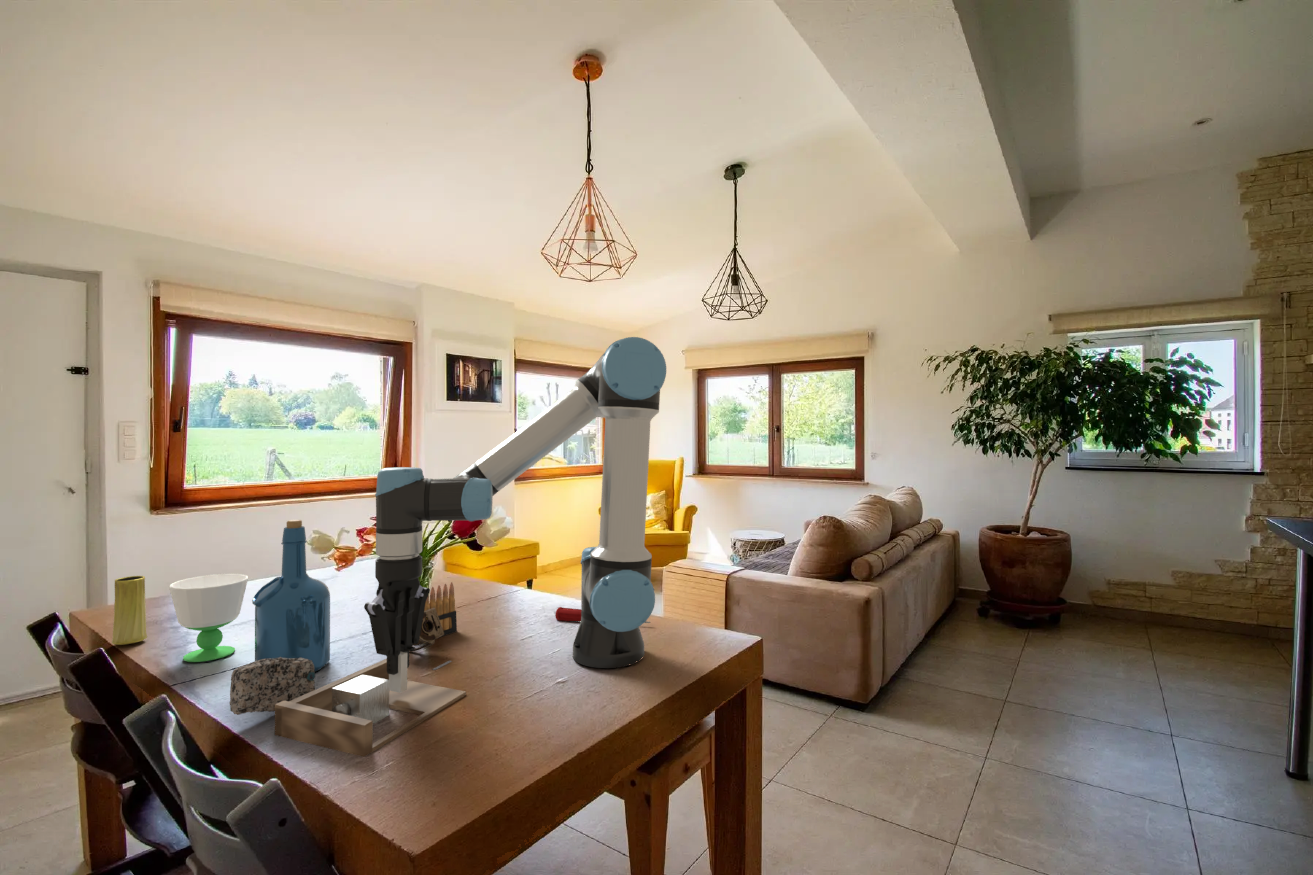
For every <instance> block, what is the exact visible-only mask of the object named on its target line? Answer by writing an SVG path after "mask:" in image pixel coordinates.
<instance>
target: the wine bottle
mask: <svg viewBox="0 0 1313 875" xmlns="http://www.w3.org/2000/svg"><path fill="white" fill-rule="evenodd" d="M307 542H308V541H307V535H306V529H305V526H303V520H302V519H289V520H286V526H284V527H283V533H282V540H281V545H282V554H281V555H282V558H281V575H280V576H276V577H275V578H273V579H272V580H270V581H269V582H267V583H266V584H264V585H263V586H262V587H260V589H258V590H257V592H256V593H255V594H254V596H253V597H252V600H251V602H252V605H254V661H257V660H262V659H267V658H271V659H272V658H278V657H282V658H288V659H289V658H290V659H291V658H300V657H301V658H304V659H308V660H312V662H313V664H314V672H317V671H320V670H321V669H322V668H324V667H326V666H327V665H329V662H330V660H331V591H330V589H329V587H328V586H327V584H326V583H325V582H323V581H321V580H320V579H316V578H313V577H311V576H310V575H309V574H308V573H307V554H306V553H307V551H306V543H307Z"/></svg>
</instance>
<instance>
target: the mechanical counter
mask: <svg viewBox="0 0 1313 875" xmlns="http://www.w3.org/2000/svg"><path fill="white" fill-rule="evenodd" d="M443 635H444V631H443V628H442V626H441V623H440V620H439V617H438V614H437V611H436V609H435V608H432V609H429V610H426V611H424V615H423V620H422V626H421V632H420V638H419V642H418V643H417V644H414V645H413V646H412V647H415V649H414V651H413V652H416V651H419V650H422V649H423V650H424V649H425V648H428V647H430V646H432V645H434V644H435V641H436V640H437V639H439V638H441V636H442V637H444V636H443ZM412 636H413V635H412ZM426 643H427V644H426ZM418 646H419V647H418Z"/></svg>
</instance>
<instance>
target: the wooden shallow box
mask: <svg viewBox="0 0 1313 875" xmlns="http://www.w3.org/2000/svg"><path fill="white" fill-rule="evenodd" d="M360 675H367V676H372V677H377V678H382V679H387V680H389V674H387V657H386V658H384V659H382V660H380V661H378V662H376V663H373V664H371V665H367V667H364V668H362V669H359V670H357V671H355V672H352V673H350V674H348V675H345V676H343V677H342V678H339V679H337V680H334V681H332V682H330V683H328V684H325V685H323V686H320V687H318V688H317V689H316V688H315V690H314V691H311V692H309V693H307V694H305V695H302V696H300V697H298V698H296V699H293V700H291V701H289V702H288V701H282V702H279V703H277V704H275V711H274V736H277V737H280V738H284V739H289V740H293V741H297V742H301V743H305V744H309V745H313V746H317V747H322V748H326V749H329V750H333V751H338V752H342V753H346V754H351V755H355V756H359V757H363V758H364V757H366V756H368V755H370V754H371V753H373V752H375V751H376V750H378V749H379V748H382V747H383V746H385V745H386V744H388V743H389V742H391V741H393V740H394V739H396V738H397V737H400V736H402V734H405V733H406V732H407V731H410V730H411V729H413V728H414V727H416V726H418V725H419V724H421V723H423V722H424V721H425V720H427V719H429V718H431V717H432V716H434V715H436V714H437V713H439V712H440V711H442V710H444V709H445V708H448V706H451V705H452V704H454V703H455V702H457V701H459V700H460V699H463V697H465V696H466V695H467V691H465V690H460V689H454V688H449V687H443V686H438V685H433V684H428V683H423V682H417V681H413V680H408V679H407V690H405V691H403V692H401V693H399V692H394V691H389V710H395V711H400V712H405V713H409V714H411V713H412V714H415V715H418V716H416V717H414V719H412V720H410V721H408V722H407V723H405V724H403V725H401V726H400V727H398V728H397V729H394V730H393V731H392V732H390V733H388V734H386V735H385V736H383V737H381V738H380V739H378V740H376V741H374V742H373V735H374V734H373V733H374V732H373V728H374V727H373V725H374V724H373V721H371V720H367V719H362V718H358V717H354V716H349V715H345V714H340V713H336V712H332V688H334V687H336V686H338V685H340V684H343V683H345V682H347V681H349V680H351V679H354V678H356V677H358V676H360Z"/></svg>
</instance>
